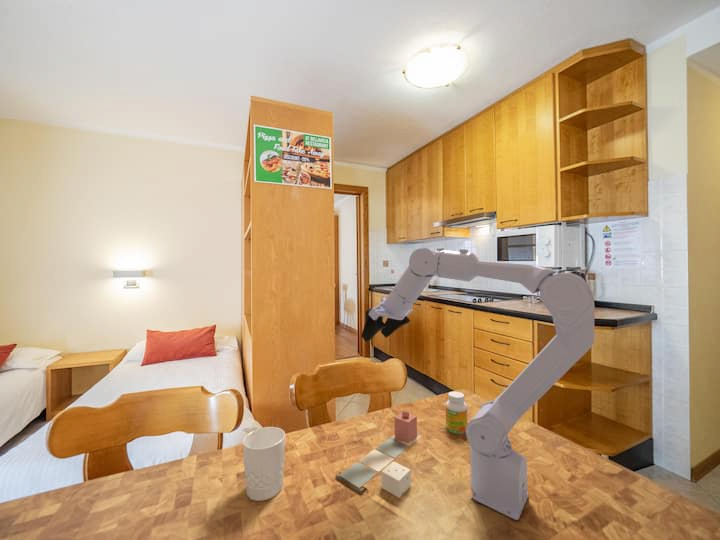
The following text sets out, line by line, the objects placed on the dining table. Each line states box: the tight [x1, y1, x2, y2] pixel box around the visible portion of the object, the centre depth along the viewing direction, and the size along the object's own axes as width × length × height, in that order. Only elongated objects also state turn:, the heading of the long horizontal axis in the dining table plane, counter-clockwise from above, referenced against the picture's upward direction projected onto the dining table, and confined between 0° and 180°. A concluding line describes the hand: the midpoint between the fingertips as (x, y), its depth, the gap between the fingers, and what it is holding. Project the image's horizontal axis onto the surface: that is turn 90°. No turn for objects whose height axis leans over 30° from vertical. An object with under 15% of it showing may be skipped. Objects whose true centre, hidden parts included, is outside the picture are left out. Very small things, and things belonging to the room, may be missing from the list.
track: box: [335, 433, 422, 495], centre depth 68 cm, size 7×24×1 cm, turn 139°
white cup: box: [242, 426, 286, 502], centre depth 58 cm, size 8×8×10 cm
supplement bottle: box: [445, 391, 468, 435], centre depth 78 cm, size 5×5×10 cm
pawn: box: [394, 409, 418, 443], centre depth 74 cm, size 4×4×7 cm
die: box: [380, 460, 412, 499], centre depth 57 cm, size 4×4×4 cm
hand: (374, 336), depth 73 cm, fingers open, 7 cm apart
